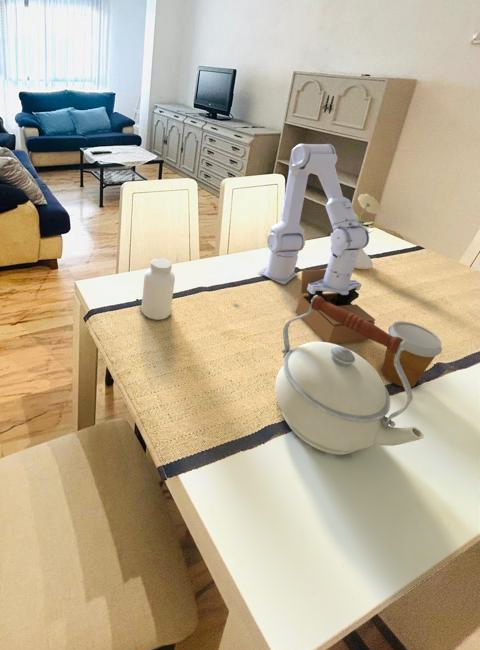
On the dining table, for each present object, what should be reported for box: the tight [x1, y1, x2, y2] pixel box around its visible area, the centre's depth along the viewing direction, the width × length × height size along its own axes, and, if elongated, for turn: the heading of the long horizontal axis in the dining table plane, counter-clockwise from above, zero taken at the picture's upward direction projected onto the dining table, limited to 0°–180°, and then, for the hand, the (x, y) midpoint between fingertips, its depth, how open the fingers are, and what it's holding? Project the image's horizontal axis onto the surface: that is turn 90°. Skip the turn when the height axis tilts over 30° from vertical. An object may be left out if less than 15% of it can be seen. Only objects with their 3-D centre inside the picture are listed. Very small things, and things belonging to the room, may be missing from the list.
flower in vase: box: [354, 193, 381, 270], centre depth 131 cm, size 13×11×25 cm
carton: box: [295, 292, 376, 345], centre depth 101 cm, size 13×12×6 cm
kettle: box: [274, 295, 425, 456], centre depth 69 cm, size 25×18×25 cm
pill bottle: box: [141, 257, 176, 321], centre depth 101 cm, size 8×8×15 cm
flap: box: [300, 268, 328, 295], centre depth 106 cm, size 6×12×1 cm
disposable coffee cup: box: [381, 320, 443, 388], centre depth 85 cm, size 10×10×12 cm
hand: (326, 312), depth 104 cm, fingers open, 7 cm apart
